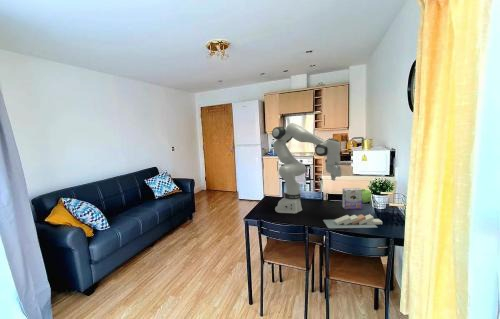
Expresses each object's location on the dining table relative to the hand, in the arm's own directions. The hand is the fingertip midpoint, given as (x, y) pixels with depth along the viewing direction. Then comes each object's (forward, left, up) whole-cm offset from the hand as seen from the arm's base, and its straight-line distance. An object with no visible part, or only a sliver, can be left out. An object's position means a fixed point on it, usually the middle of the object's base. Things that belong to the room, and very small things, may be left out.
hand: (333, 180), depth 162 cm
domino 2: (+3, -12, -27) cm, 30 cm away
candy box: (+21, +19, -29) cm, 41 cm away
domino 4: (+13, -12, -27) cm, 33 cm away
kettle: (+37, +35, -29) cm, 59 cm away
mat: (+7, -12, -29) cm, 32 cm away
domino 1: (-2, -12, -27) cm, 30 cm away
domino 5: (+18, -12, -27) cm, 35 cm away
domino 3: (+8, -12, -27) cm, 31 cm away
